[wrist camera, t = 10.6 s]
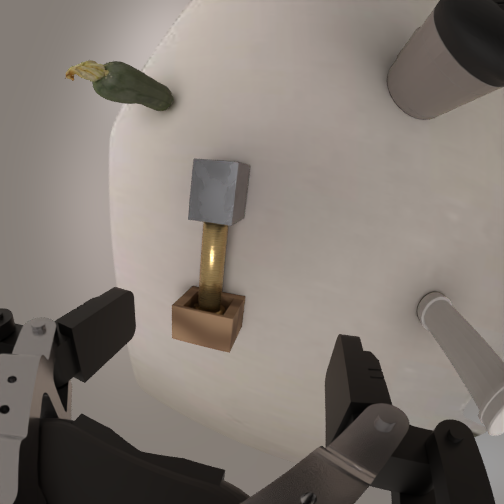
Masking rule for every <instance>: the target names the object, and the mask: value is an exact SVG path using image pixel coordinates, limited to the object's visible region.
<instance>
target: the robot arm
mask: <svg viewBox="0 0 504 504" xmlns="http://www.w3.org/2000/svg"><path fill="white" fill-rule="evenodd" d="M387 84H388V89H389V92H390V94H391V96H392V98H393V100H394V101H395V103H396V104H397V105H398V106H399V107H400V108H401V109H402V110H403V111H404V112H406V113H407V114H409V115H410V116H413V117H415V118H418V119H423V120H426V119H432V118H435V117H437V116H439V115H442V114H444V113H446V112H448V111H451V110H453V109H455V108H457V107H459V106H461V105H464V104H466V103H468V102H470V101H472V100H475V99H477V98H479V97H481V96H484V95H486V94H488V93H491V92H493V91H495V90H497V89H500V88H502V87H504V0H440V1H439V2H438V4H437V5H436V7H435V8H434V10H433V11H432V12H431V14H430V15H429V16H428V18H427V19H426V21H425V22H424V24H423V25H422V26H421V27H419V28H417V29H416V31H415V32H414V34H413V35H412V36H411V38H410V39H409V41H408V42H407V43H406V45H405V46H404V48H403V49H402V50H401V52H400V53H399V55H398V56H397V60H396V61H395V63H394V64H393V65H392V67H391V68H390V70H389V73H388V76H387ZM135 329H136V322H135V307H134V295H133V293H132V292H131V291H128V290H124V289H121V288H117V287H114V288H112V289H110V290H109V291H107V292H105V293H104V294H102V295H100V296H99V297H95V298H92V299H90V300H89V301H87V302H85V303H84V304H83V305H80V306H79V307H77V309H74V310H72V311H71V312H69V313H67V314H66V315H64V316H62V317H61V318H59V319H57V320H56V321H53V320H51V319H49V318H35V319H32V320H30V321H28V322H27V323H25V324H24V325H19V324H15V323H14V319H13V315H12V313H11V311H10V310H8V309H0V504H354V503H355V502H356V501H357V500H358V499H359V497H360V496H361V495H362V494H363V493H364V491H365V490H366V489H367V488H368V487H369V486H372V487H376V488H380V489H385V490H389V491H391V496H392V504H495V501H494V497H493V493H492V489H491V486H490V482H489V479H488V476H487V472H486V469H485V466H484V463H483V460H482V457H481V454H480V452H479V449H478V446H477V444H476V441H475V438H474V436H473V433H472V431H471V430H470V429H469V428H468V426H466V425H465V424H463V423H462V422H460V421H457V420H444V421H442V422H440V423H439V424H438V425H437V426H436V428H435V429H434V431H432V430H427V429H423V428H418V427H414V426H411V425H409V420H408V418H407V416H406V414H405V413H404V412H403V411H402V410H400V409H399V408H397V407H395V406H393V405H392V402H391V399H390V395H389V392H388V389H387V385H386V382H385V379H384V376H383V372H382V371H381V370H382V369H381V366H380V363H379V360H378V359H377V358H376V357H375V356H374V355H373V354H372V353H371V352H370V351H363V348H362V344H361V340H360V337H357V336H349V335H342V334H339V335H338V337H337V340H336V343H335V346H334V350H333V353H332V356H331V359H330V363H329V366H328V369H327V373H326V378H325V409H326V448H324V447H323V446H320V447H318V448H317V449H315V450H314V451H313V452H311V453H310V454H309V455H308V456H307V457H305V458H304V459H303V460H302V461H300V462H299V463H298V464H296V465H295V466H294V467H293V468H291V469H290V470H289V471H287V472H286V473H285V474H283V475H282V476H281V477H279V478H278V479H276V480H275V481H274V482H272V483H271V484H269V485H268V486H266V487H265V488H263V489H262V490H260V491H259V492H258V493H256V494H254V495H253V496H251V497H250V496H249V495H247V494H246V493H245V492H243V491H242V490H241V489H239V488H237V487H236V486H234V485H232V484H230V483H228V482H226V481H224V474H225V470H223V469H219V468H215V467H211V466H207V465H204V464H201V463H197V462H194V461H191V460H187V459H184V458H177V457H169V456H163V455H157V454H151V453H145V452H141V451H139V450H138V449H136V448H135V447H133V446H132V445H131V444H129V443H128V442H127V441H125V440H124V439H123V438H122V437H120V436H119V435H118V434H116V433H115V432H114V431H113V430H112V429H110V428H108V427H106V426H104V425H102V424H100V423H98V422H96V421H95V420H93V419H91V418H89V417H87V416H85V415H84V414H81V415H80V416H79V417H78V418H77V419H76V420H75V421H73V420H71V402H72V383H71V380H70V379H71V378H73V377H75V378H77V379H79V380H80V381H82V382H84V383H85V382H86V381H87V380H88V379H89V378H90V377H92V375H94V374H95V373H96V372H97V371H98V370H99V369H100V368H101V367H102V366H103V365H104V364H105V363H106V362H107V361H108V360H109V359H111V358H112V357H113V356H114V355H115V354H116V353H117V352H118V351H119V350H120V349H121V348H122V347H123V346H124V345H126V344H127V343H128V342H129V341H130V340H131V339H132V337H133V336H134V333H135Z"/></svg>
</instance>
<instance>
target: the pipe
mask: <svg viewBox="0 0 504 504" xmlns="http://www.w3.org/2000/svg"><path fill="white" fill-rule="evenodd" d="M417 313H418V318H419V319H420V321H421V324H422V325H423V327H424V328H425V329H426V330H428V331H430V332H431V334H432V335H433V336H434V338H435V339H436V341H437V342H438V344H439V345H440V347H441V348H442V350H443V351H444V353H445V354H446V356H447V357H448V359H449V360H450V362H451V363H452V365H453V366H454V368H455V370H456V371H457V373H458V374H459V376H460V378H461V379H462V381H463V383H464V384H465V386H466V388H467V389H468V391H469V393H470V394H471V396H472V398H473V399H474V401H475V403H476V405H477V406H478V408H479V410H480V411H479V415H478V416H479V419H480V421H481V423H482V424H484V425H485V427H486V429H487V431H488V433H489V435H493V436H497V435H500V434H502V433H504V362H503V361H502V360H501V358H500V357H499V356H498V355H497V354H496V353H495V351H494V350H493V349H492V348H491V347H490V346H489V345H488V343H487V342H486V341H485V340H484V339H483V338H482V337H481V336H480V335H479V333H478V332H477V331H476V330H475V329H474V328H473V327H472V326H471V325H470V324H469V323H468V322H467V321H466V320H465V319H464V318H463V317H462V316H461V314H460V313H459V312H458V311H457V310H456V309H455V308H454V307H453V304H452V302H451V300H450V299H448V298H447V297H445V296H444V295H443V294H441V293H439V292H432V293H430V294H427V295H426V296H425V297H424V298H423V299H422V300H421V302H420V303H419V306H418V310H417Z"/></svg>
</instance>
